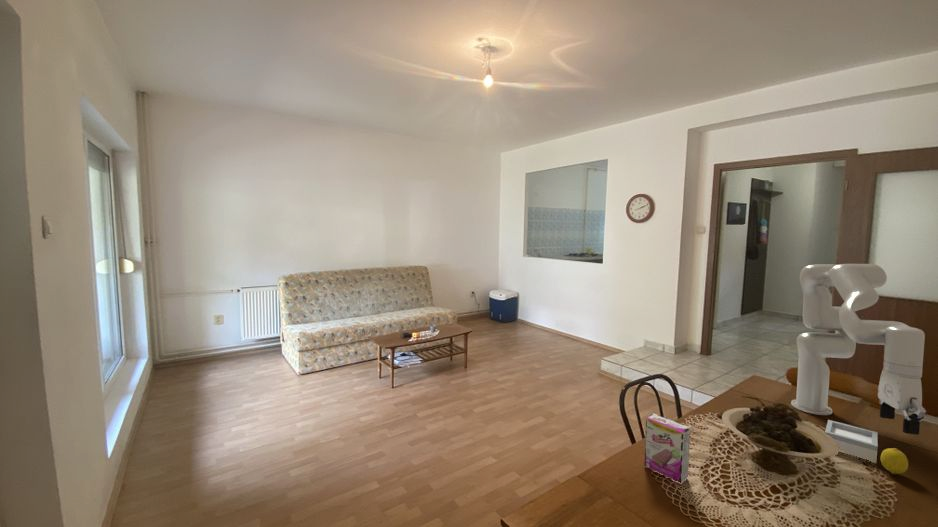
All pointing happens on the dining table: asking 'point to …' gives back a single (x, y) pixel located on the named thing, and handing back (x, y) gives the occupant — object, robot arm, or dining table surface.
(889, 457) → the lemon
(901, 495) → the dining table surface
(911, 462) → the dining table surface
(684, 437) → the candy bar box
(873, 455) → the tray
